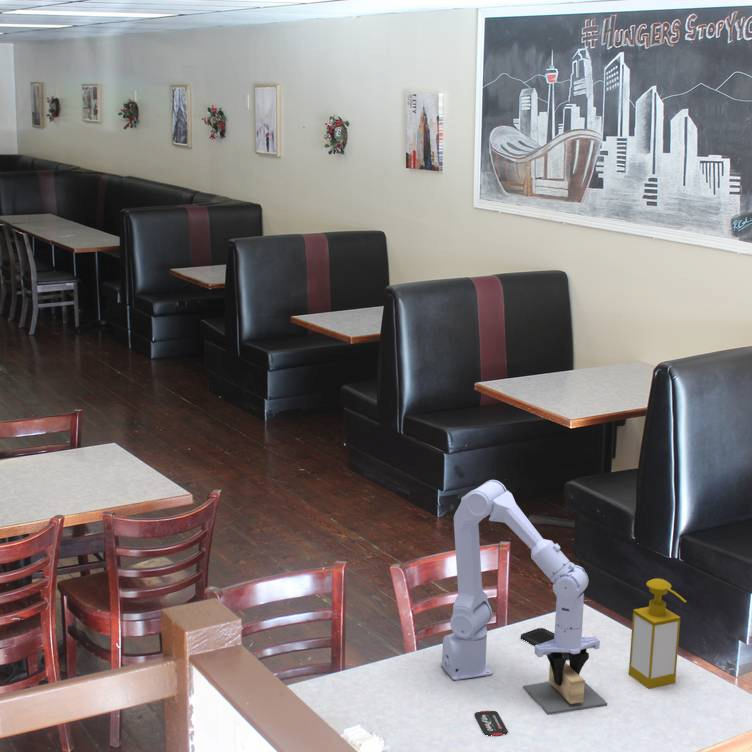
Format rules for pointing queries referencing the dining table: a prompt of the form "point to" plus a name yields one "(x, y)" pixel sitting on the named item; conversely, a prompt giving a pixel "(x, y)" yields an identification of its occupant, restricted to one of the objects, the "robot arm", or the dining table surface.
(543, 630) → the phone
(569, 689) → the oak domino
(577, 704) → the rubber mat
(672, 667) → the soap bottle
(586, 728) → the dining table surface
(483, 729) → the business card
